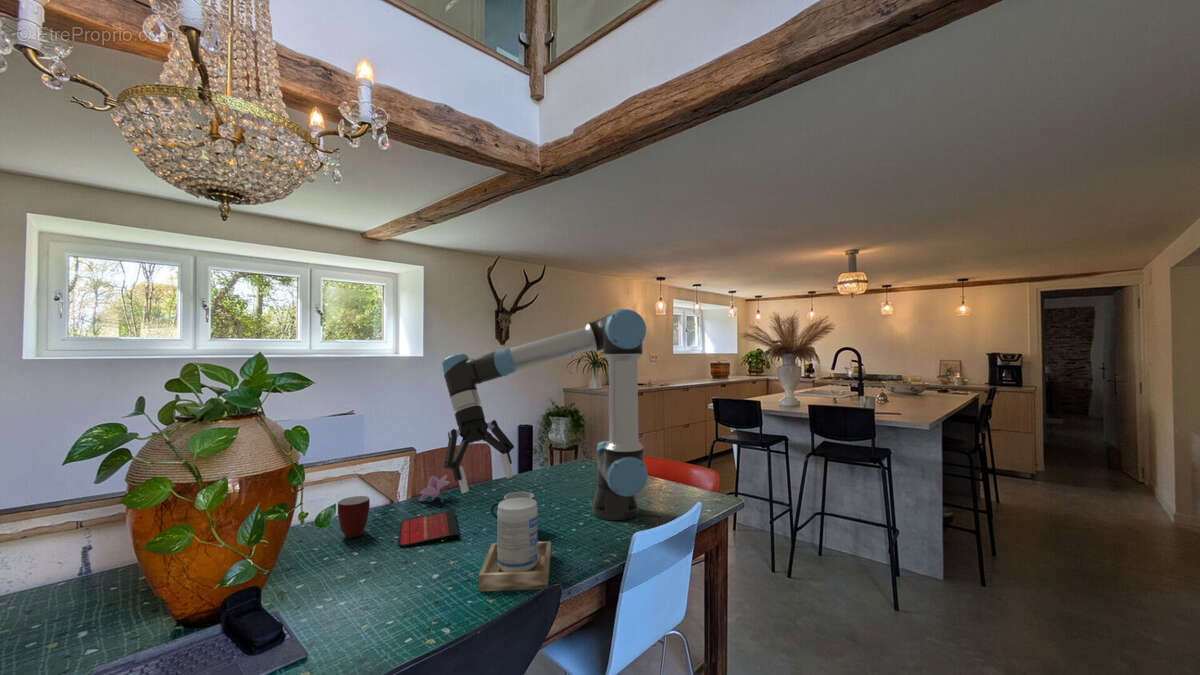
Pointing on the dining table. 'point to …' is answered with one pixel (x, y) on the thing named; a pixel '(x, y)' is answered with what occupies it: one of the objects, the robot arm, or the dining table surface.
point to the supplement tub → (517, 534)
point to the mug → (353, 515)
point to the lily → (433, 487)
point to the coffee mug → (514, 495)
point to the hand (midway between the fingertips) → (488, 484)
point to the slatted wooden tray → (504, 581)
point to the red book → (428, 529)
